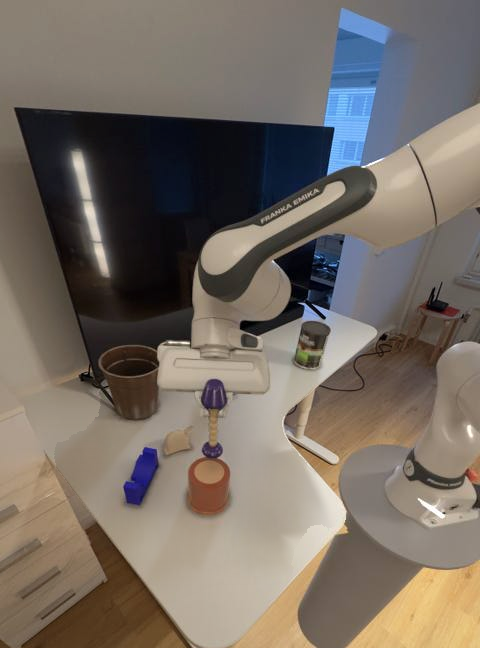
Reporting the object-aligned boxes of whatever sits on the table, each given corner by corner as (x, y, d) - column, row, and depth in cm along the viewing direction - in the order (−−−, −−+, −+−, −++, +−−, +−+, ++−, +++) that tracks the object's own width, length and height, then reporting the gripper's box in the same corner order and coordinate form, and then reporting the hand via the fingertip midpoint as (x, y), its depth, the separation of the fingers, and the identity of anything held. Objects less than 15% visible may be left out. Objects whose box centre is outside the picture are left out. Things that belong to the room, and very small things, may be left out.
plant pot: (158, 386, 109) (153, 340, 98) (173, 417, 99) (170, 370, 88) (104, 396, 103) (94, 349, 92) (114, 431, 93) (104, 382, 82)
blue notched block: (141, 462, 85) (138, 445, 81) (158, 465, 85) (156, 449, 81) (120, 501, 76) (116, 485, 72) (139, 505, 76) (136, 489, 72)
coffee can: (309, 373, 123) (318, 337, 113) (288, 360, 128) (295, 325, 118) (326, 364, 128) (336, 329, 119) (305, 352, 133) (313, 318, 124)
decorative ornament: (161, 445, 90) (159, 430, 87) (191, 437, 93) (191, 423, 90) (165, 455, 88) (164, 441, 84) (196, 447, 91) (196, 433, 87)
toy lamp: (200, 460, 67) (203, 392, 55) (197, 443, 70) (199, 375, 59) (224, 457, 68) (232, 390, 56) (220, 440, 71) (227, 374, 60)
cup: (228, 481, 83) (230, 455, 77) (229, 515, 76) (232, 489, 70) (188, 480, 82) (188, 454, 76) (186, 515, 75) (185, 489, 69)
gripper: (155, 333, 58) (152, 414, 58) (272, 340, 61) (271, 417, 60) (159, 344, 65) (157, 417, 64) (266, 349, 67) (265, 420, 66)
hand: (213, 417), depth 62 cm, fingers closed on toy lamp
